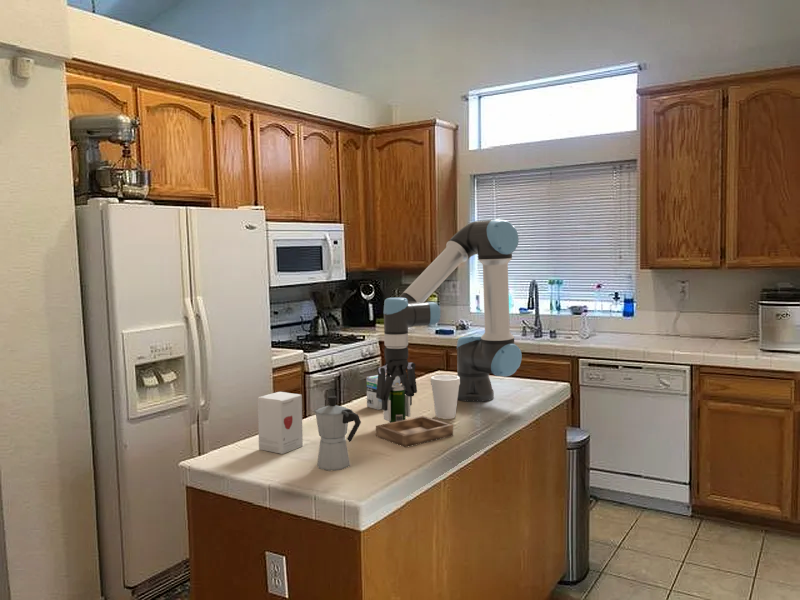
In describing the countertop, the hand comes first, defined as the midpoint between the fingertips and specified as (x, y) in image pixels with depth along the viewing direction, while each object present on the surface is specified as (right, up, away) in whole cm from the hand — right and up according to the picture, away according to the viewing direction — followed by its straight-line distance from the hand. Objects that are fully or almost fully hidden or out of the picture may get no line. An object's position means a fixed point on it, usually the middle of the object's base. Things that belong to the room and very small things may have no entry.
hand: (397, 417), depth 210 cm
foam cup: (+16, -1, +7) cm, 18 cm away
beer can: (0, -2, 0) cm, 2 cm away
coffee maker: (-15, -5, -40) cm, 44 cm away
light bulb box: (-5, 0, +23) cm, 23 cm away
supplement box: (-32, -4, -25) cm, 41 cm away
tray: (+5, -3, -15) cm, 16 cm away
